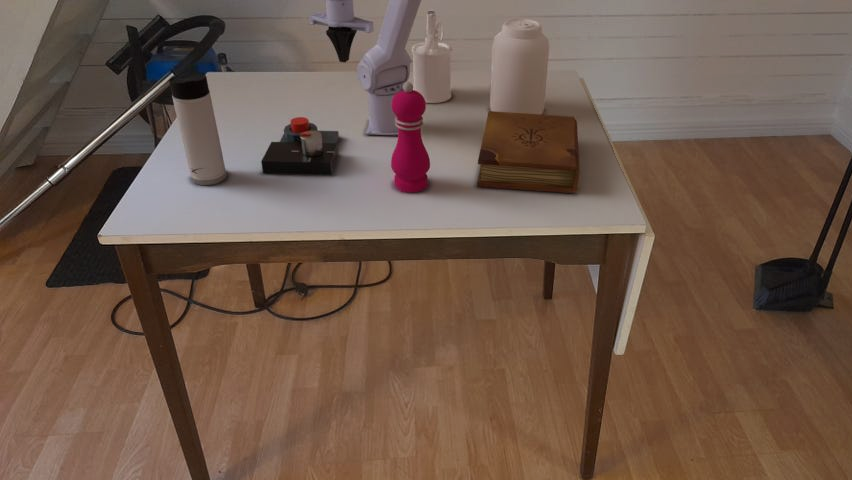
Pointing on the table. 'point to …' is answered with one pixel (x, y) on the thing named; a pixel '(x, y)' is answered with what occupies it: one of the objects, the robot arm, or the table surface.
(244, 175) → the table surface
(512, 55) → the can
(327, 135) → the button box
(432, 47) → the white oil can
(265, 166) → the panel
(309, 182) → the table surface
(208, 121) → the travel mug
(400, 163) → the pepper mill
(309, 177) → the table surface
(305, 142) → the burner knob
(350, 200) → the table surface
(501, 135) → the diary
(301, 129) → the stop button
